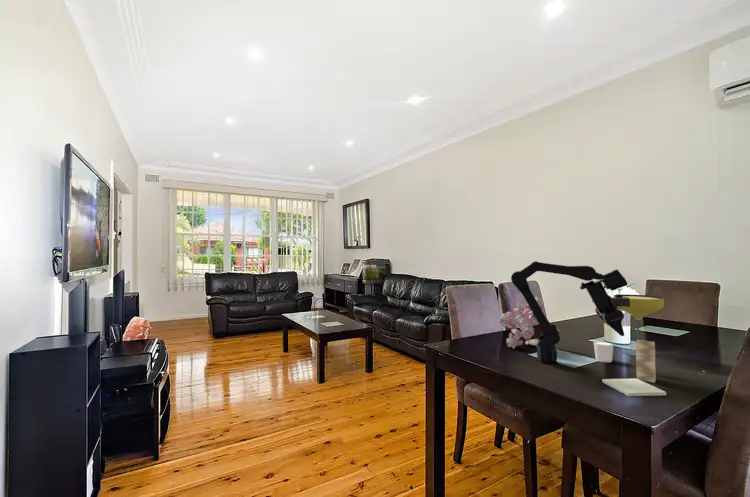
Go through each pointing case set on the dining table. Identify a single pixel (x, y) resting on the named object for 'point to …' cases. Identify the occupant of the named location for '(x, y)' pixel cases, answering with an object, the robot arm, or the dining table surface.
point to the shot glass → (603, 351)
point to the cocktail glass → (641, 310)
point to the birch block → (645, 360)
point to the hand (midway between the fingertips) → (619, 333)
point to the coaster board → (633, 387)
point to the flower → (525, 316)
